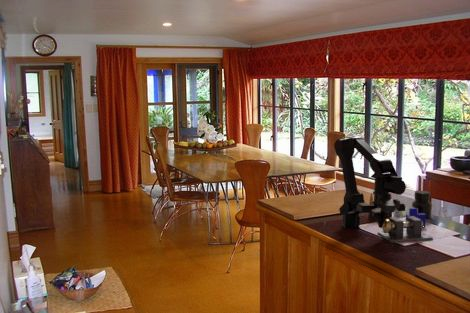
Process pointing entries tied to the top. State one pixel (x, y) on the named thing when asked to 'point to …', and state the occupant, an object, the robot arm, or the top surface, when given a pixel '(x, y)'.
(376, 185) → the robot arm
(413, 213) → the cable clip
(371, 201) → the ammunition clip
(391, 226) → the shaft
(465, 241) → the top surface
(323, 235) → the top surface
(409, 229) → the housing
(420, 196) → the ink bottle
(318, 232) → the top surface
